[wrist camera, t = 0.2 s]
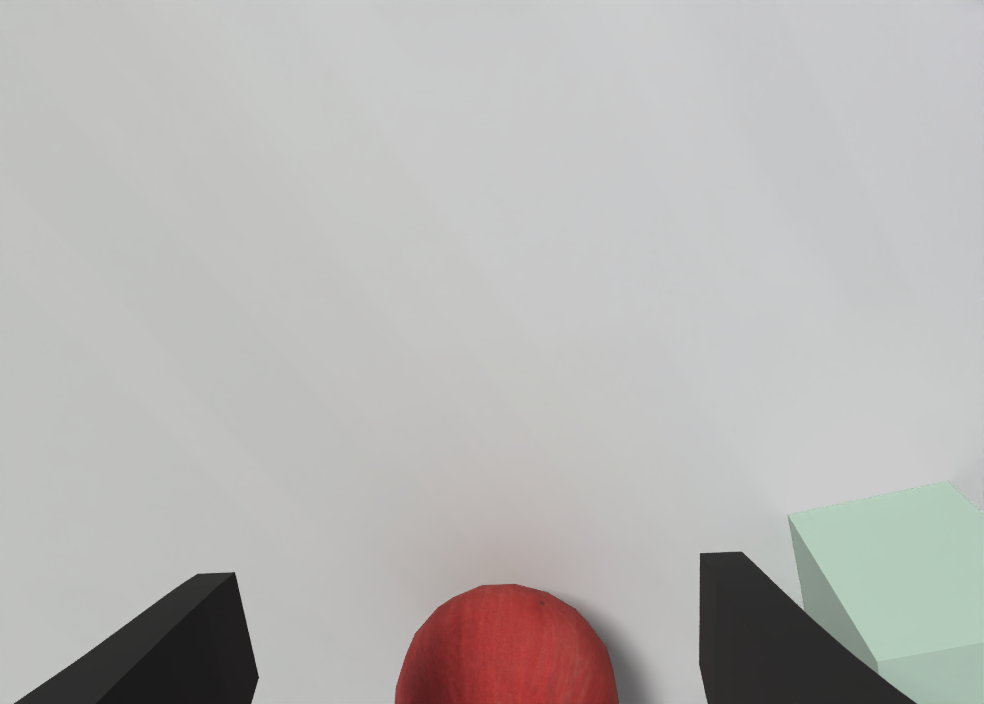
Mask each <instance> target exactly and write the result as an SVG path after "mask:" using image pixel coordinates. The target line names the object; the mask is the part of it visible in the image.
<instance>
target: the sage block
mask: <svg viewBox="0 0 984 704" xmlns="http://www.w3.org/2000/svg"><path fill="white" fill-rule="evenodd" d="M788 519H789V525H790V530H791V536H792V541H793V547H794V553H795V558H796V564H797V569H798V575H799V580H800V586H801V592H802V597H803V603H804V608H805V612H806V613H807V614H808V615H809V616H810V617H811V618H812V619H813V620H814V621H816V622H817V623H818V624H819V625H820V626H821V627H822V628H824V629H825V630H826V631H827V632H828V633H829V634H830V635H831V636H833V637H834V638H835V639H836V640H837V641H838V642H839V643H841V644H842V645H843V646H844V647H845V648H846V649H847V650H849V651H850V652H851V653H852V654H853V655H855V656H856V657H857V658H858V659H860V660H861V661H862V662H863V663H865V664H866V665H867V666H868V667H870V668H871V669H872V670H874V671H875V672H876V673H877V674H879V675H880V676H881V677H882V678H884V679H885V680H886V681H887V682H889V683H890V684H891V685H893V686H894V687H895V688H897V689H898V690H899V691H901V692H902V693H903V694H905V695H906V696H907V697H909V698H910V699H911V700H913V701H914V702H916V703H917V704H984V513H983V512H982V511H981V510H980V509H979V508H977V507H976V506H975V505H974V504H973V503H972V502H971V501H970V500H969V499H968V498H967V497H966V496H965V495H963V494H962V493H961V492H960V491H959V490H958V489H957V488H956V487H955V486H954V485H953V484H952V483H951V482H949V481H946V482H941V483H936V484H931V485H927V486H922V487H917V488H912V489H907V490H903V491H898V492H893V493H888V494H884V495H879V496H874V497H869V498H864V499H860V500H855V501H850V502H845V503H840V504H836V505H831V506H826V507H821V508H817V509H812V510H807V511H802V512H797V513H793V514H788Z"/></svg>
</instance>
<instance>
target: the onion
mask: <svg viewBox="0 0 984 704" xmlns="http://www.w3.org/2000/svg"><path fill="white" fill-rule="evenodd" d="M395 704H619V700H618V694H617V689H616V684H615V679H614V673H613V668H612V665H611V662H610V658H609V655H608V651H607V648H606V646H605V645H604V644H603V642H602V641H601V640H600V638H599V637H598V636H597V634H596V633H595V632H594V630H593V629H592V628H591V627H590V625H589V624H588V623H587V621H586V620H585V619H584V618H583V617H582V616H581V615H580V614H579V613H578V611H577V610H576V609H574V608H573V607H571V606H569V605H568V604H566V603H564V602H563V601H561V600H559V599H558V598H556V597H554V596H553V595H551V594H549V593H547V592H544V591H540V590H536V589H532V588H528V587H525V586H521V585H517V584H503V585H482V586H479V587H477V588H474V589H472V590H470V591H467V592H465V593H463V594H460V595H458V596H455V597H453V598H451V599H450V600H448V601H447V602H445V603H444V604H442V605H441V606H439V607H438V608H437V609H436V610H435V611H434V613H433V614H432V615H431V616H430V617H429V618H428V619H427V621H426V622H425V623H424V624H423V625H422V626H421V627H420V629H419V630H418V631H417V632H416V633H415V635H414V638H413V640H412V642H411V644H410V647H409V649H408V651H407V654H406V656H405V659H404V663H403V666H402V669H401V672H400V676H399V679H398V682H397V685H396V693H395Z"/></svg>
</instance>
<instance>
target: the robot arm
mask: <svg viewBox="0 0 984 704" xmlns="http://www.w3.org/2000/svg"><path fill="white" fill-rule="evenodd" d="M699 665H700V670H701V675H702V679H703V684H704V689H705V693H706V698H707V702H708V704H917V703H916V702H914V701H913V700H911V699H910V698H909V697H907V696H906V695H905V694H903V693H902V692H901V691H899V690H898V689H897V688H895V687H894V686H893V685H891V684H890V683H889V682H887V681H886V680H885V679H884V678H882V677H881V676H880V675H879V674H877V673H876V672H875V671H874V670H872V669H871V668H870V667H868V666H867V665H866V664H865V663H863V662H862V661H861V660H860V659H858V658H857V657H856V656H855V655H853V654H852V653H851V652H850V651H849V650H847V649H846V648H845V647H844V646H843V645H842V644H841V643H839V642H838V641H837V640H836V639H835V638H834V637H833V636H831V635H830V634H829V633H828V632H827V631H826V630H825V629H824V628H822V627H821V626H820V625H819V624H818V623H817V622H816V621H814V620H813V619H812V618H811V617H810V616H809V615H808V614H807V613H806V612H805V611H804V610H802V609H801V608H800V607H799V606H798V605H797V604H796V603H795V602H794V601H793V600H792V599H791V598H790V597H789V596H788V595H787V594H785V593H784V592H783V591H782V590H781V589H780V588H779V587H778V586H777V585H776V584H775V583H774V582H773V581H772V580H771V579H770V578H769V577H768V576H767V575H766V574H765V573H764V572H763V571H762V570H761V569H760V568H759V567H757V566H756V565H755V564H754V563H753V562H752V561H751V560H750V559H749V558H748V557H747V556H746V555H745V554H744V553H743V552H721V553H700V635H699ZM258 679H259V676H258V672H257V667H256V663H255V659H254V654H253V650H252V645H251V641H250V636H249V632H248V628H247V623H246V619H245V614H244V610H243V606H242V601H241V597H240V592H239V588H238V583H237V579H236V575H235V572H232V573H207V574H197V575H195V576H194V577H192V578H190V579H189V580H187V581H186V582H184V583H183V584H181V585H180V586H178V587H177V588H175V589H174V590H173V591H171V592H170V593H168V594H167V595H166V596H164V597H163V598H162V599H160V600H159V601H157V602H156V603H155V604H153V605H152V606H151V607H149V608H148V609H147V610H145V611H144V612H142V613H141V614H140V615H138V616H137V617H136V618H134V619H133V620H132V621H130V622H129V623H128V624H126V625H125V626H124V627H122V628H121V629H119V630H118V631H117V632H115V633H114V634H113V635H111V636H110V637H109V638H107V639H106V640H104V641H103V642H102V643H100V644H99V645H98V646H96V647H95V648H94V649H92V650H91V651H89V652H88V653H87V654H85V655H84V656H83V657H81V658H80V659H78V660H77V661H75V662H74V663H73V664H71V665H70V666H68V667H67V668H65V669H64V670H62V671H61V672H59V673H58V674H56V675H55V676H54V677H52V678H51V679H49V680H48V681H46V682H45V683H43V684H42V685H40V686H39V687H37V688H36V689H35V690H33V691H32V692H30V693H29V694H27V695H26V696H24V697H23V698H21V699H20V700H18V701H17V702H16V703H14V704H251V702H252V699H253V696H254V692H255V689H256V686H257V682H258Z"/></svg>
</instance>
